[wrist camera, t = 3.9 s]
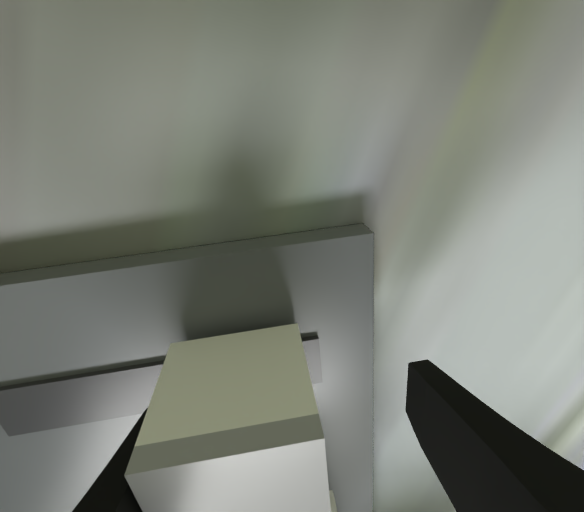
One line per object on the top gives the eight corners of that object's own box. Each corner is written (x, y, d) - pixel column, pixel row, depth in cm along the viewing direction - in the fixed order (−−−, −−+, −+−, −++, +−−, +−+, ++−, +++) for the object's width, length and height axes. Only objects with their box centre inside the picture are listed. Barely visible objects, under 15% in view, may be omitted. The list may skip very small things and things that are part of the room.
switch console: (35, 592, 17) (18, 629, 16) (-228, 305, 9) (-296, 332, 8) (366, 524, 18) (374, 552, 17) (363, 223, 11) (377, 236, 9)
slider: (198, 431, 11) (175, 576, 8) (170, 343, 10) (123, 475, 6) (307, 411, 12) (333, 543, 8) (297, 323, 10) (324, 438, 6)
